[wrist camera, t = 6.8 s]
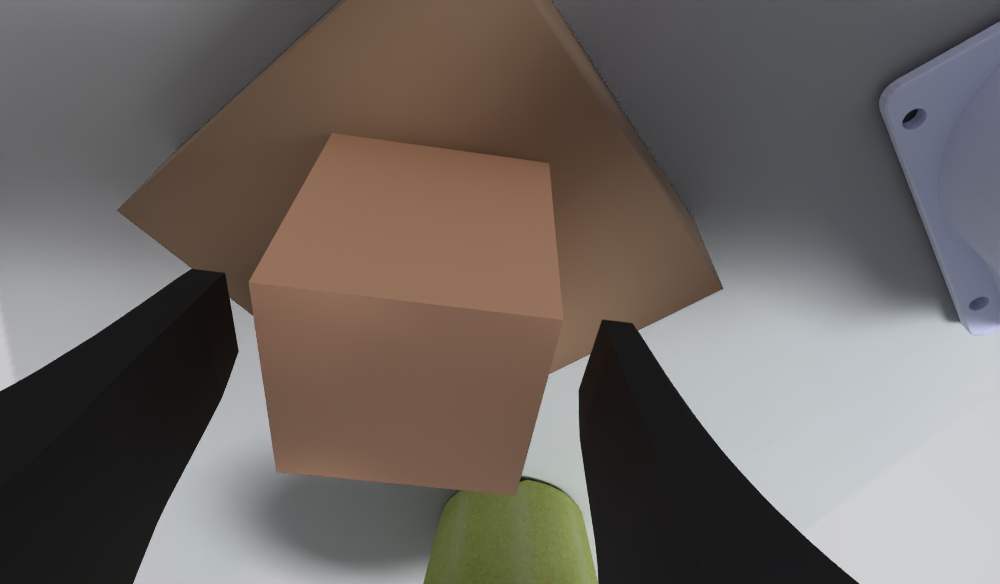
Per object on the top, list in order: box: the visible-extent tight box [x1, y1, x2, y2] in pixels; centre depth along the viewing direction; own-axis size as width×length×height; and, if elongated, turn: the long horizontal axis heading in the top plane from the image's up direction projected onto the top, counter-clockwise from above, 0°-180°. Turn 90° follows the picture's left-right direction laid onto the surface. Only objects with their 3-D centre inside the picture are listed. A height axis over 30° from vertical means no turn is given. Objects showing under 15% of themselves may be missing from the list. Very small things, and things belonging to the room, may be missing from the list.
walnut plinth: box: [117, 0, 723, 374], centre depth 15 cm, size 10×10×3 cm
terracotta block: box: [249, 133, 563, 496], centre depth 12 cm, size 4×4×5 cm
